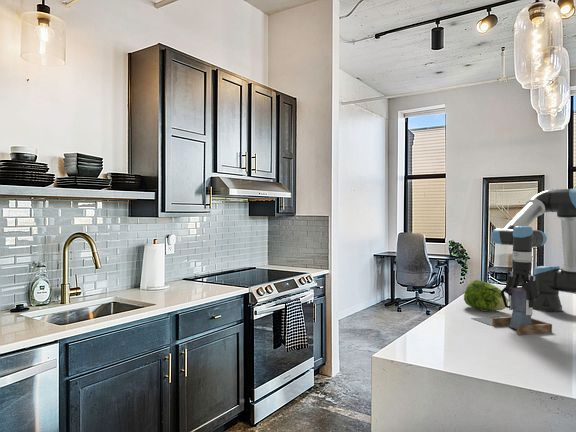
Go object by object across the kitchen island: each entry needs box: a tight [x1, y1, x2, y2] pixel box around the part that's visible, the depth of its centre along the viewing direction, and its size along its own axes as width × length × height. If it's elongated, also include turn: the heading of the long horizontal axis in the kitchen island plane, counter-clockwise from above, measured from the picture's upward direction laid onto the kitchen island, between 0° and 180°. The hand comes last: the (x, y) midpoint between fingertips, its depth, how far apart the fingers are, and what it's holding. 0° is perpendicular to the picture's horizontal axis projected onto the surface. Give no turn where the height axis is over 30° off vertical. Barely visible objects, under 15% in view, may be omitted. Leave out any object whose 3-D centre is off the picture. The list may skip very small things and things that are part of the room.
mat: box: [471, 315, 499, 326], centre depth 202 cm, size 16×12×1 cm
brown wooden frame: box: [491, 316, 553, 336], centre depth 189 cm, size 18×15×4 cm
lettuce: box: [463, 279, 509, 312], centre depth 223 cm, size 16×21×15 cm
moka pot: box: [501, 283, 539, 330], centre depth 189 cm, size 10×15×20 cm, turn 79°
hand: (520, 312), depth 188 cm, fingers closed on moka pot, 8 cm apart
